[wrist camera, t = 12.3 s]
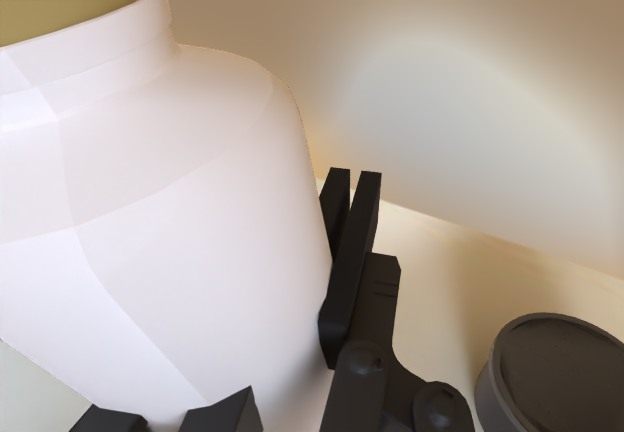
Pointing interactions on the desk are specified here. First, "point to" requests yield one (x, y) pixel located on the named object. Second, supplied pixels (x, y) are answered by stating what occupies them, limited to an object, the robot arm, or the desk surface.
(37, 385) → the desk surface
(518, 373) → the dark tin
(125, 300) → the potion bottle
